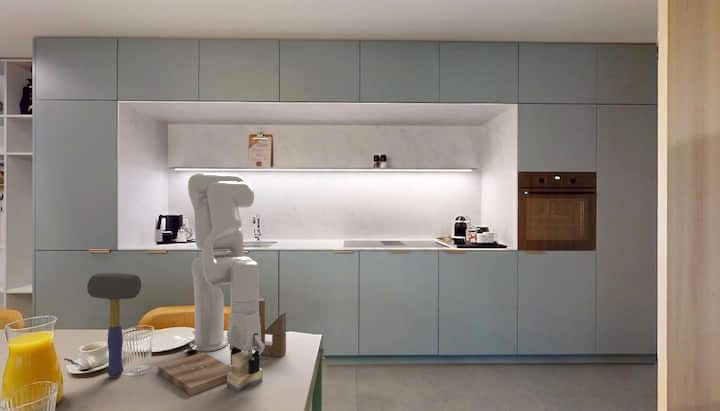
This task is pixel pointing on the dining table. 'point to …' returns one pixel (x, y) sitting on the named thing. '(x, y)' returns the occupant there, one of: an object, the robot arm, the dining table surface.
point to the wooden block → (273, 333)
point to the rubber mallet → (114, 310)
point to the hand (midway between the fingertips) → (245, 367)
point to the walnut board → (195, 372)
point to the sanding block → (242, 373)
